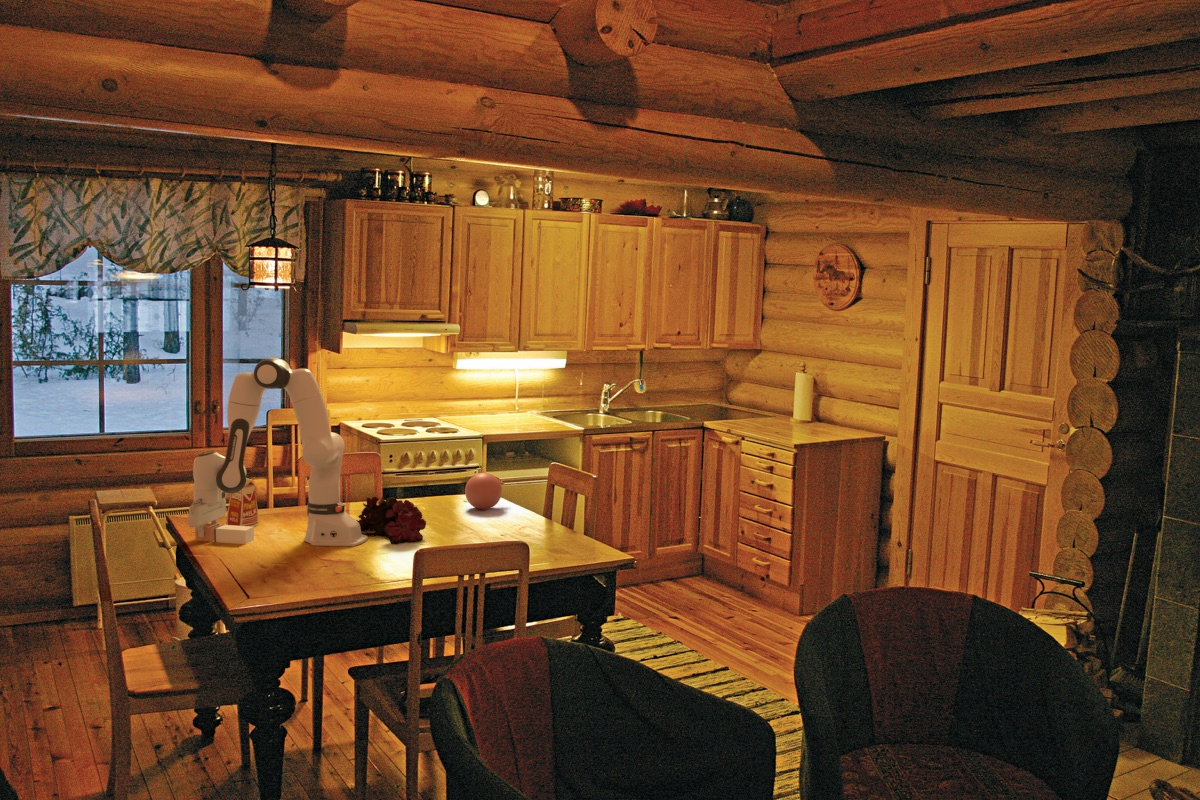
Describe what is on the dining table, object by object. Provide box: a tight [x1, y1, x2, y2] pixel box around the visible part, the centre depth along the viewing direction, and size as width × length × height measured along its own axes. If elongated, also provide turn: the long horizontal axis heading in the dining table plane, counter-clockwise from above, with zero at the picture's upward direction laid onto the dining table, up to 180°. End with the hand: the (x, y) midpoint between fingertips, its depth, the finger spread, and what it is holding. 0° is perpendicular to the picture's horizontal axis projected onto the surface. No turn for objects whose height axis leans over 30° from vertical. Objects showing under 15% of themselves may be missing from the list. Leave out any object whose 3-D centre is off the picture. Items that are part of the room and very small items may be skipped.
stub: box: [194, 523, 221, 543], centre depth 385 cm, size 6×6×5 cm
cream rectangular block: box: [214, 523, 255, 545], centre depth 383 cm, size 12×6×5 cm, turn 81°
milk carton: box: [225, 477, 260, 528], centre depth 407 cm, size 9×9×20 cm
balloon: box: [464, 472, 505, 511], centre depth 450 cm, size 15×20×15 cm
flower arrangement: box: [355, 496, 427, 546], centre depth 399 cm, size 31×20×15 cm, turn 50°
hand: (207, 534), depth 385 cm, fingers closed on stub, 6 cm apart
